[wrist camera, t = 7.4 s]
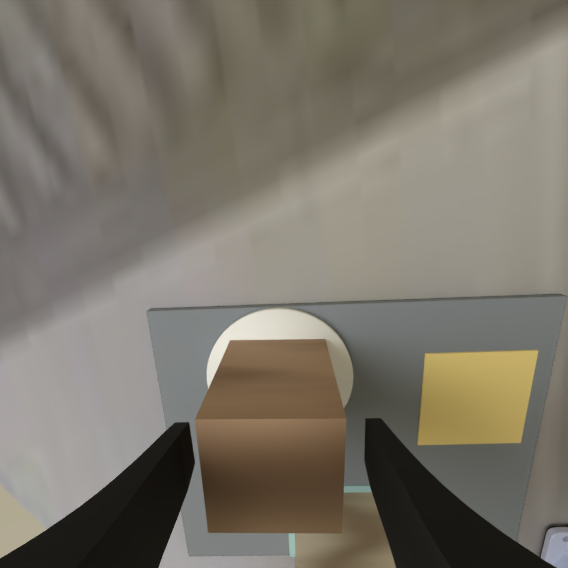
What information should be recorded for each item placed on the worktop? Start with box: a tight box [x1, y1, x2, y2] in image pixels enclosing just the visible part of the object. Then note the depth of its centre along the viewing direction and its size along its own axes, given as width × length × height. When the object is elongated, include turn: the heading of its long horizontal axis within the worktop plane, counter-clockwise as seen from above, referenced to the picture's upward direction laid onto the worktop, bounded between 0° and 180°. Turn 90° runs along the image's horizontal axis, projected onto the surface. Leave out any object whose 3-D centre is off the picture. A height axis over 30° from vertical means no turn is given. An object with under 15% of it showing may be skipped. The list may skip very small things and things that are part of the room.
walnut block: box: [195, 339, 346, 534], centre depth 13 cm, size 5×5×6 cm
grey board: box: [146, 294, 567, 557], centre depth 18 cm, size 22×18×1 cm
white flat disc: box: [206, 307, 353, 408], centre depth 16 cm, size 8×8×1 cm
